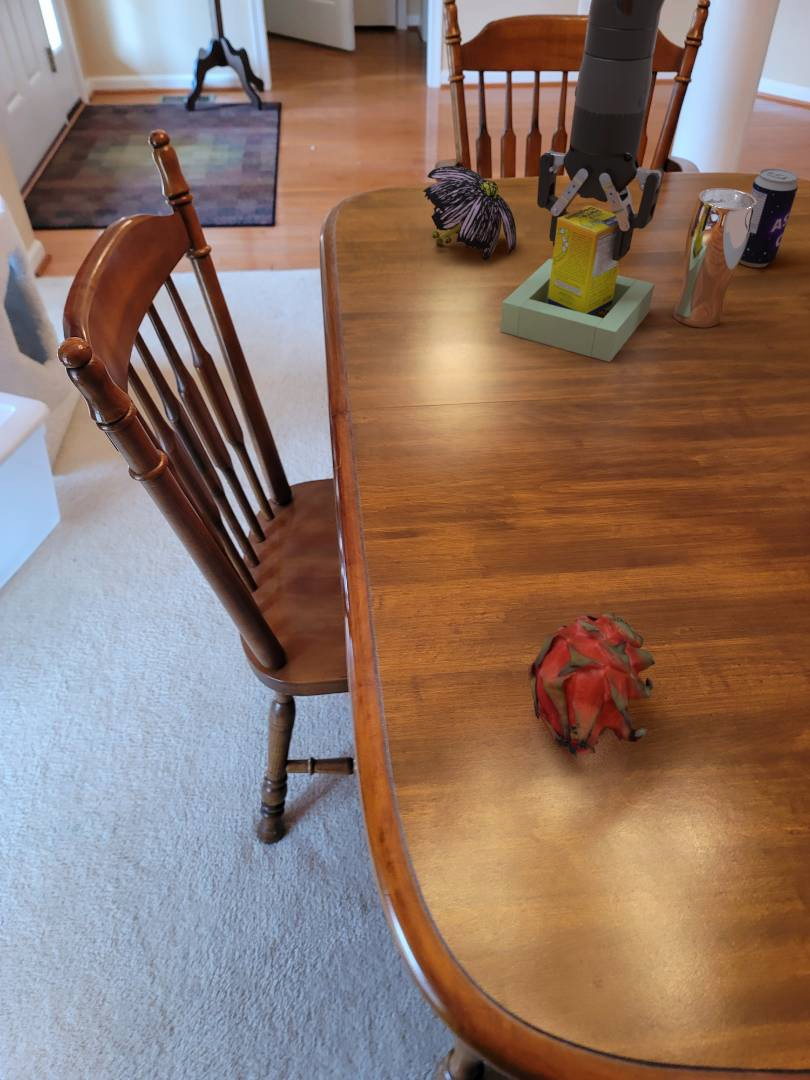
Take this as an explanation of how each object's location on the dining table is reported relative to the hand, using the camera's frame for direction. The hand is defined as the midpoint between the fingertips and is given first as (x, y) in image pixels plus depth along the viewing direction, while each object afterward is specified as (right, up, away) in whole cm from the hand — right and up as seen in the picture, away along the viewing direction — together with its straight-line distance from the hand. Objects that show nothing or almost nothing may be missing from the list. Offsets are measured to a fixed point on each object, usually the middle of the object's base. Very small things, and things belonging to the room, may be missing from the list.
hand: (587, 251), depth 100 cm
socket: (0, -7, +6) cm, 9 cm away
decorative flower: (-12, +8, +23) cm, 27 cm away
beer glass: (+16, -6, +8) cm, 18 cm away
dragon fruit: (-9, -47, -38) cm, 61 cm away
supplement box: (0, -5, +5) cm, 7 cm away
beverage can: (+28, +5, +20) cm, 35 cm away
